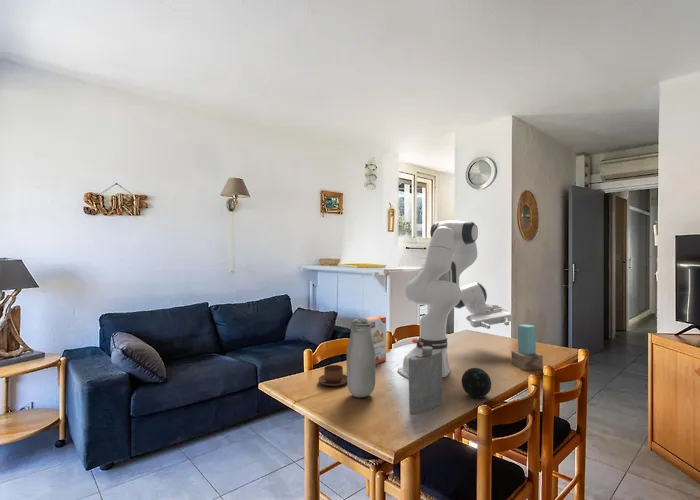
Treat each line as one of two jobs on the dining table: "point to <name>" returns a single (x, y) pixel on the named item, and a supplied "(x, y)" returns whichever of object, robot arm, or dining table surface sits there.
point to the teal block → (526, 339)
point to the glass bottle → (361, 359)
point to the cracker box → (379, 337)
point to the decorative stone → (476, 382)
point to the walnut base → (527, 360)
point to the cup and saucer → (333, 376)
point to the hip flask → (425, 380)
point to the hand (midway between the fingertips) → (498, 325)
